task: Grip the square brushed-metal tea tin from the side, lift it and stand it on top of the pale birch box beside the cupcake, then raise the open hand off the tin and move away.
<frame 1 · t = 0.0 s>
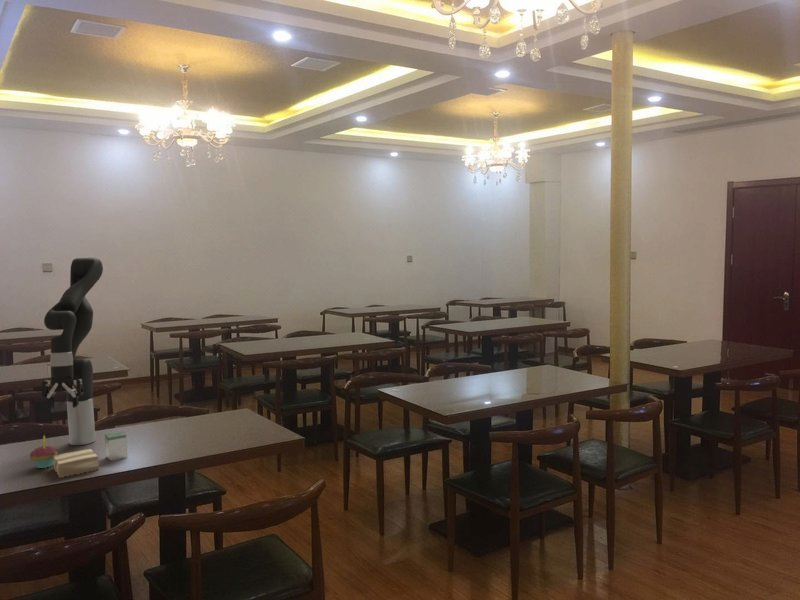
hand: (63, 407, 241), 17 cm above the table, tool pointing down, fingers open, 8 cm apart
cupcake: (44, 467, 227), on the table
tea tin: (116, 457, 235), on the table
birch box: (76, 470, 223), on the table
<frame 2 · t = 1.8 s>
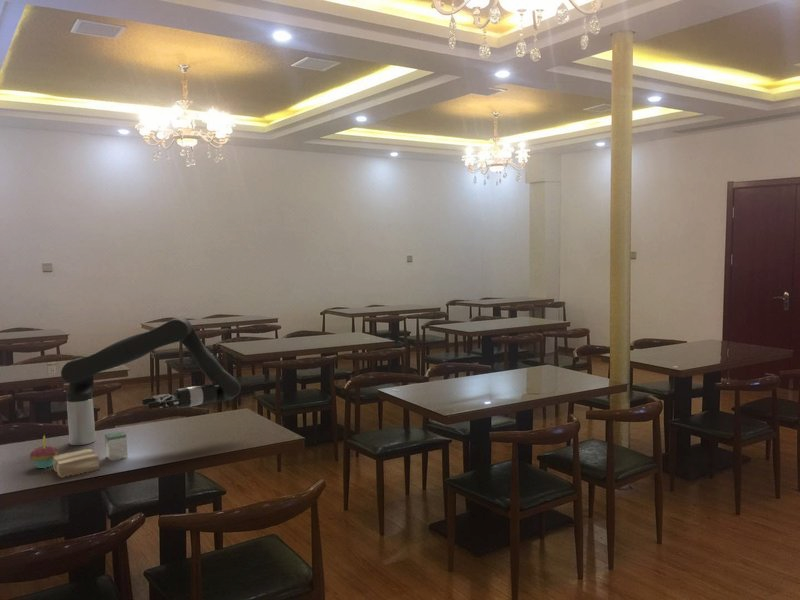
hand: (145, 404, 240), 18 cm above the table, tool horizontal, fingers open, 8 cm apart
nothing on the table moved.
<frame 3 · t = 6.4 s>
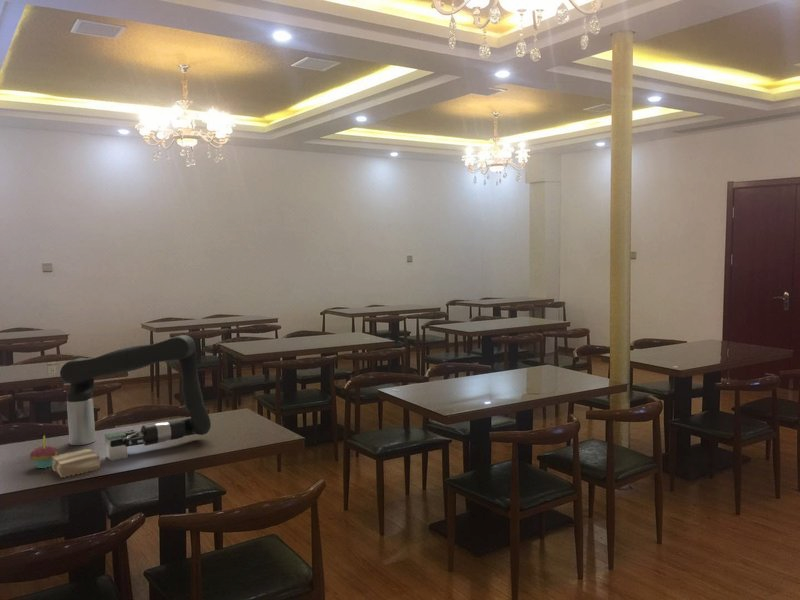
hand: (108, 442, 234), 6 cm above the table, tool horizontal, fingers closed on tea tin, 6 cm apart
tea tin: (116, 457, 235), on the table, touching gripper
everything else where it was.
when the fingers open (11 cm above the table, at t = 12.0 s): tea tin stays where it is, resting on birch box.
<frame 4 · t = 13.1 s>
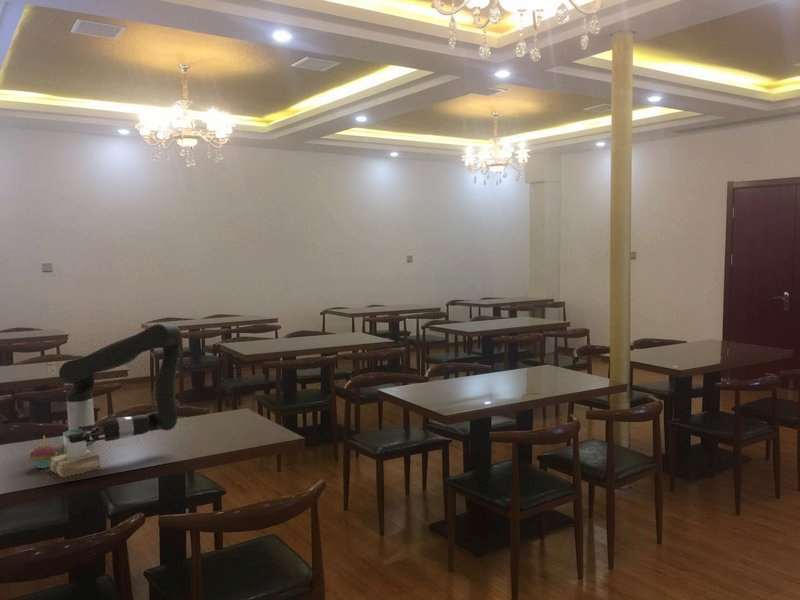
hand: (67, 437, 221), 12 cm above the table, tool horizontal, fingers open, 8 cm apart
tea tin: (75, 456, 223), point 4 cm above the table, touching birch box
birch box: (75, 470, 223), on the table, touching tea tin
everything else where it was.
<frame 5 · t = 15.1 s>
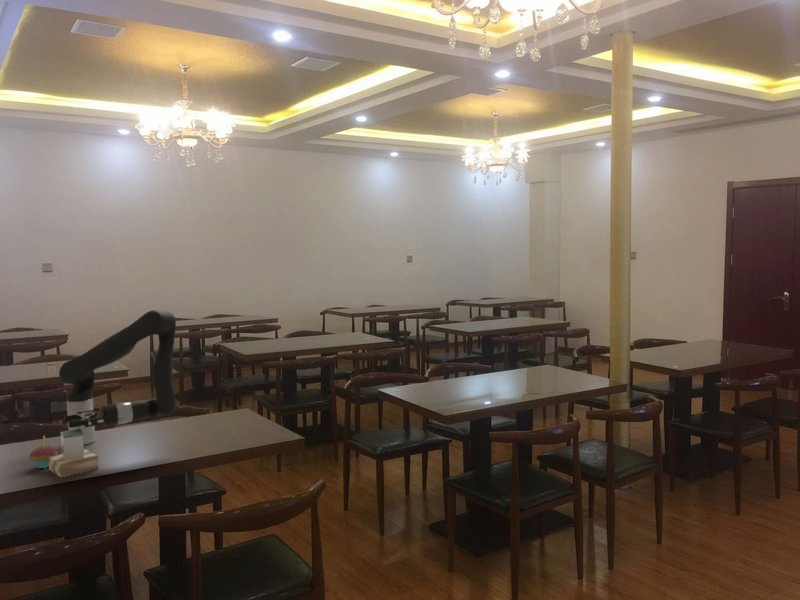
hand: (66, 421, 221), 17 cm above the table, tool horizontal, fingers open, 8 cm apart
nothing on the table moved.
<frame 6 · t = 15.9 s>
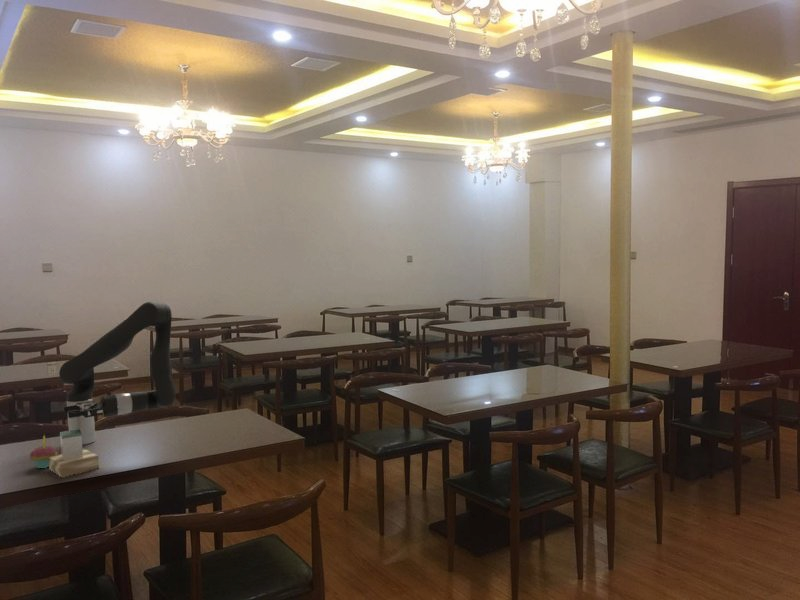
hand: (66, 412, 221), 20 cm above the table, tool horizontal, fingers open, 8 cm apart
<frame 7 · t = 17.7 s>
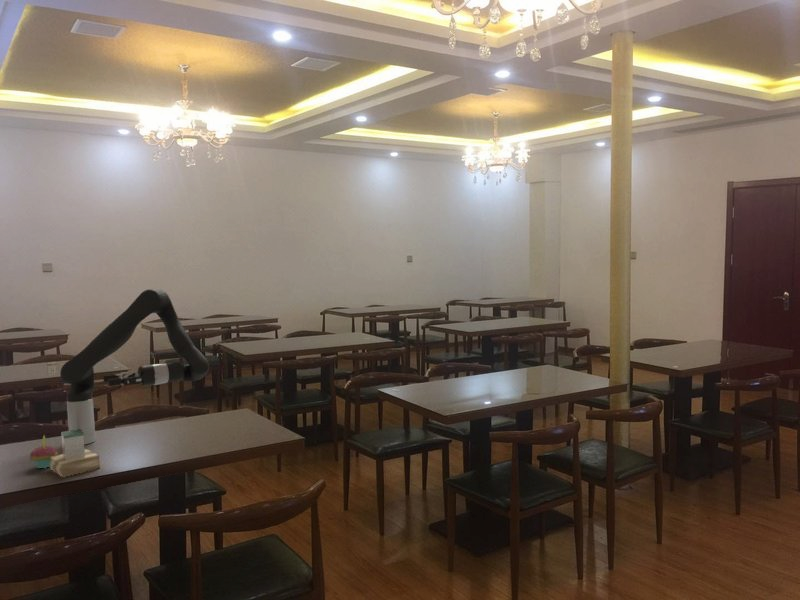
hand: (106, 380, 228), 29 cm above the table, tool horizontal, fingers open, 8 cm apart
nothing on the table moved.
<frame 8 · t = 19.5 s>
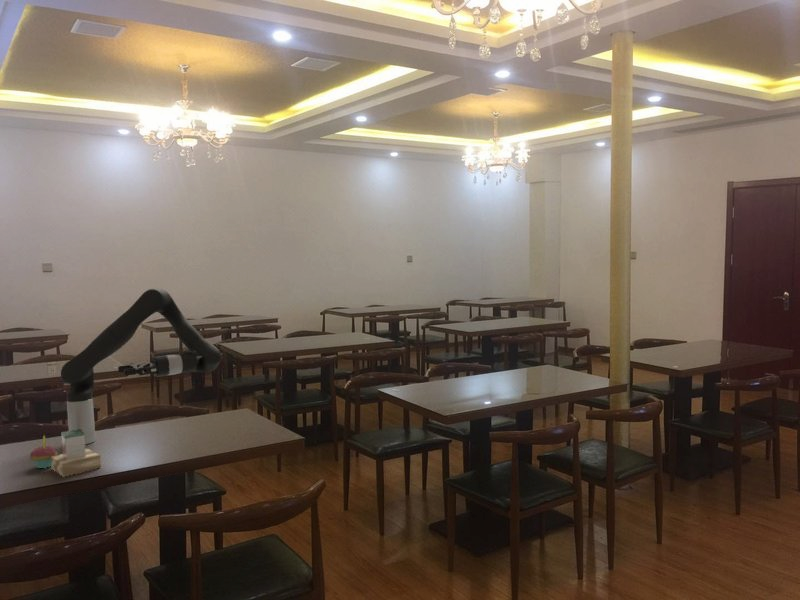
hand: (121, 371, 231), 32 cm above the table, tool horizontal, fingers open, 8 cm apart
nothing on the table moved.
at the end: tea tin inside the target area on the birch box (0.4 cm from its centre), point 5.0 cm above the birch box's base; tea tin tilted 1°; the gripper is holding nothing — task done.
